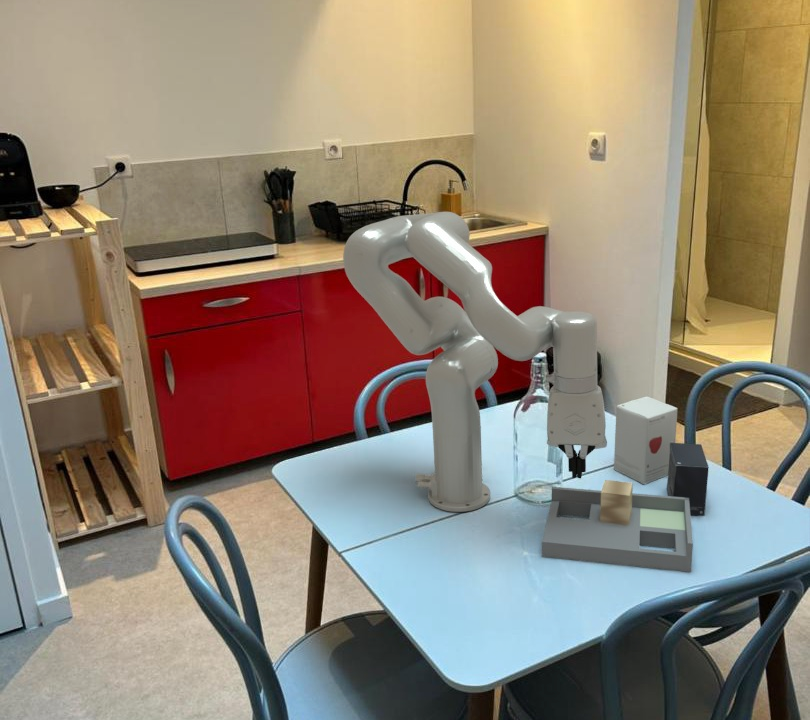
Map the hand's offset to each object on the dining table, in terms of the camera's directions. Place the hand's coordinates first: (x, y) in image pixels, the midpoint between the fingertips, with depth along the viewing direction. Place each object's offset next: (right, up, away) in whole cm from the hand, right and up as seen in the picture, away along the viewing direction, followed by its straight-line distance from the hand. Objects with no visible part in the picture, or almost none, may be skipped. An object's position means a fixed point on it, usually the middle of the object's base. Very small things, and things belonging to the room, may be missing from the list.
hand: (577, 474), depth 151 cm
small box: (+23, -7, +10) cm, 26 cm away
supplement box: (+19, -3, +23) cm, 30 cm away
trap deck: (+7, -12, -2) cm, 13 cm away
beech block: (+7, -8, 0) cm, 10 cm away
